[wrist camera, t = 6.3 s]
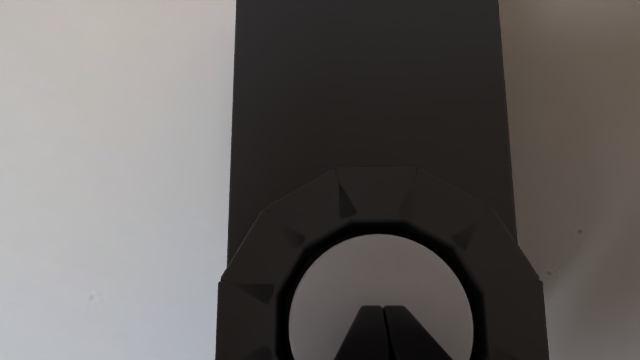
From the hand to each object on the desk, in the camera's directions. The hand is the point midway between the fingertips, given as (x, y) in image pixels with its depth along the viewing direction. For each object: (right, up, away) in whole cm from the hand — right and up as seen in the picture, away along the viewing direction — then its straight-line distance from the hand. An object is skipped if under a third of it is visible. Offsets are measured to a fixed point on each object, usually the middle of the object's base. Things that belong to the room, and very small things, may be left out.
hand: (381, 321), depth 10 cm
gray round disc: (0, -1, +2) cm, 2 cm away
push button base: (0, +2, +8) cm, 8 cm away
